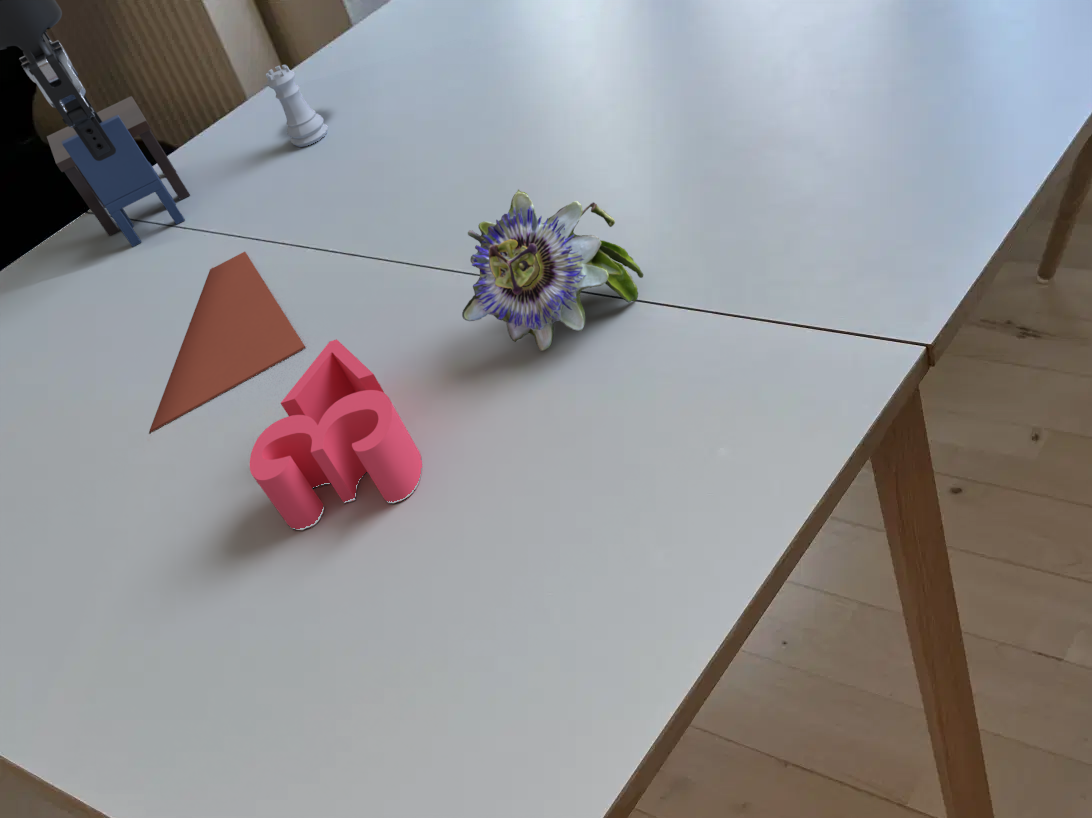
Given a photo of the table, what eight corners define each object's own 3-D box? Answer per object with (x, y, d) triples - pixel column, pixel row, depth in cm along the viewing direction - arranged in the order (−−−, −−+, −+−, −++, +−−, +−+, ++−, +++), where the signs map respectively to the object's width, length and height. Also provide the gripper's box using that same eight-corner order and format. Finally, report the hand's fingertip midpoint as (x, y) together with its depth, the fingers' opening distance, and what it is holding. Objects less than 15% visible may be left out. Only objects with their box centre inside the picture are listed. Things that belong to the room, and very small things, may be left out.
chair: (124, 227, 120) (55, 127, 112) (174, 202, 121) (110, 101, 113) (132, 247, 116) (62, 144, 108) (185, 220, 117) (119, 117, 109)
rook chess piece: (325, 142, 122) (290, 74, 116) (288, 152, 123) (252, 85, 117) (333, 123, 125) (300, 56, 120) (297, 133, 126) (263, 67, 120)
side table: (95, 207, 127) (46, 136, 120) (175, 167, 129) (131, 95, 122) (107, 237, 119) (56, 164, 113) (192, 195, 121) (146, 120, 115)
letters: (303, 408, 85) (272, 358, 82) (426, 371, 84) (399, 319, 81) (280, 537, 75) (243, 486, 72) (420, 496, 74) (389, 443, 71)
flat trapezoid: (112, 322, 105) (110, 320, 105) (245, 252, 108) (244, 251, 107) (150, 432, 89) (149, 431, 89) (306, 347, 92) (304, 346, 92)
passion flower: (571, 397, 86) (438, 335, 80) (566, 298, 93) (443, 232, 86) (666, 314, 80) (529, 239, 73) (654, 214, 86) (528, 135, 79)
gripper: (-50, -15, 103) (58, 140, 114) (-45, 16, 93) (74, 183, 104) (25, -49, 105) (125, 108, 116) (39, -22, 95) (147, 147, 105)
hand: (101, 143), depth 110 cm, fingers open, 8 cm apart
